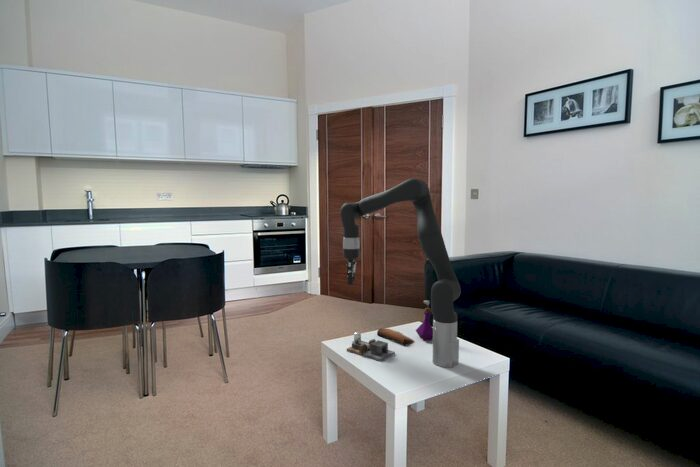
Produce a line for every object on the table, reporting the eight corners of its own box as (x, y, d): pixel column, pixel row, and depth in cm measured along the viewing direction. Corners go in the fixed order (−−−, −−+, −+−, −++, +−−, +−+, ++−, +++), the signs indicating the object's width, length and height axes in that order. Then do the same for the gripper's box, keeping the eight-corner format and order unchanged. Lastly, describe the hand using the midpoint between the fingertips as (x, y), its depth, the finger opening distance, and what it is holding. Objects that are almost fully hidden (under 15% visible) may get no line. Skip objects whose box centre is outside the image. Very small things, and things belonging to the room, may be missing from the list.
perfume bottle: (437, 340, 180) (437, 302, 179) (422, 342, 178) (422, 303, 177) (429, 335, 188) (430, 298, 186) (415, 336, 186) (415, 299, 184)
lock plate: (394, 354, 164) (395, 342, 164) (381, 361, 157) (381, 349, 156) (360, 344, 176) (360, 333, 175) (346, 351, 168) (346, 339, 168)
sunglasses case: (416, 341, 179) (411, 330, 176) (407, 352, 175) (402, 341, 173) (389, 331, 193) (384, 321, 190) (380, 341, 190) (375, 331, 187)
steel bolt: (370, 348, 168) (370, 334, 167) (366, 350, 166) (366, 336, 165) (356, 343, 173) (356, 330, 172) (351, 345, 171) (351, 332, 170)
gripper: (358, 249, 170) (358, 286, 171) (360, 245, 184) (360, 280, 185) (340, 249, 170) (341, 286, 172) (345, 245, 185) (345, 279, 186)
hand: (351, 282), depth 178 cm, fingers open, 8 cm apart
